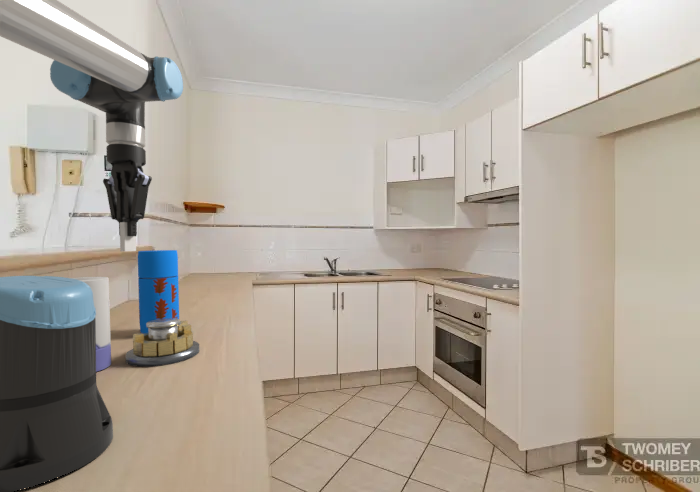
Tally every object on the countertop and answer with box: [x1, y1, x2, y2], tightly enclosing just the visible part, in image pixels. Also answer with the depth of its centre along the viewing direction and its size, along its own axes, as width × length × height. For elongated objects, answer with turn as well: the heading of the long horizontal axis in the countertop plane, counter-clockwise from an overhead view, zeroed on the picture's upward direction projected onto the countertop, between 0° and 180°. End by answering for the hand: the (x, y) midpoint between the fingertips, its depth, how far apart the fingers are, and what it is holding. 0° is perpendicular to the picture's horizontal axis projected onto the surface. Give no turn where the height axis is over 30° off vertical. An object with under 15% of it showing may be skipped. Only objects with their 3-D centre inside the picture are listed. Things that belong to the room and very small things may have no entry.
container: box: [71, 276, 112, 373], centre depth 79 cm, size 10×10×20 cm
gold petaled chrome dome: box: [132, 320, 194, 357], centre depth 91 cm, size 19×13×4 cm
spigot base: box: [125, 318, 200, 368], centre depth 88 cm, size 17×16×8 cm
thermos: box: [137, 249, 180, 334], centre depth 110 cm, size 11×11×25 cm
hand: (128, 251), depth 81 cm, fingers closed
